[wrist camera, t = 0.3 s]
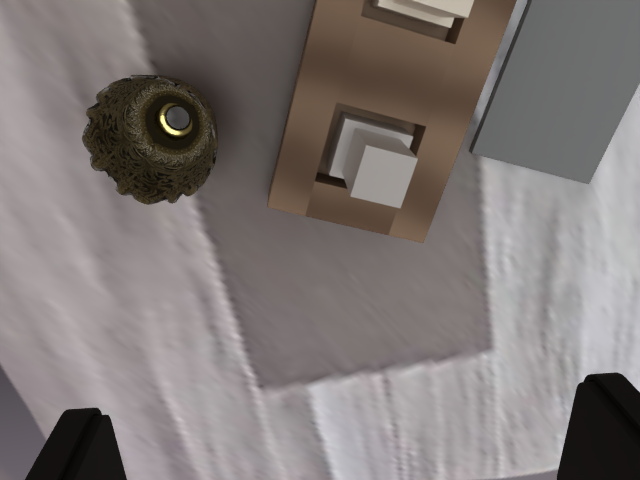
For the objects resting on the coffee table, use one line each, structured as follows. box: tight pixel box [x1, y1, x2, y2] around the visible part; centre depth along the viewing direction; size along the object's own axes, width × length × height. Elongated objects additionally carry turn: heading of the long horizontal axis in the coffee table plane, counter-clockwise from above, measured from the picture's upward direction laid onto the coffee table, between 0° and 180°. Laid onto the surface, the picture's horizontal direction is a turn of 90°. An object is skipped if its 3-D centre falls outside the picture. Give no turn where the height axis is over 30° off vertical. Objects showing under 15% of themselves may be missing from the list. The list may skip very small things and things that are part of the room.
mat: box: [470, 0, 640, 184], centre depth 36 cm, size 16×10×1 cm, turn 165°
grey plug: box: [326, 111, 418, 208], centre depth 33 cm, size 4×5×8 cm
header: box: [267, 0, 517, 243], centre depth 34 cm, size 22×12×3 cm, turn 165°
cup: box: [82, 75, 218, 204], centre depth 32 cm, size 8×7×8 cm
